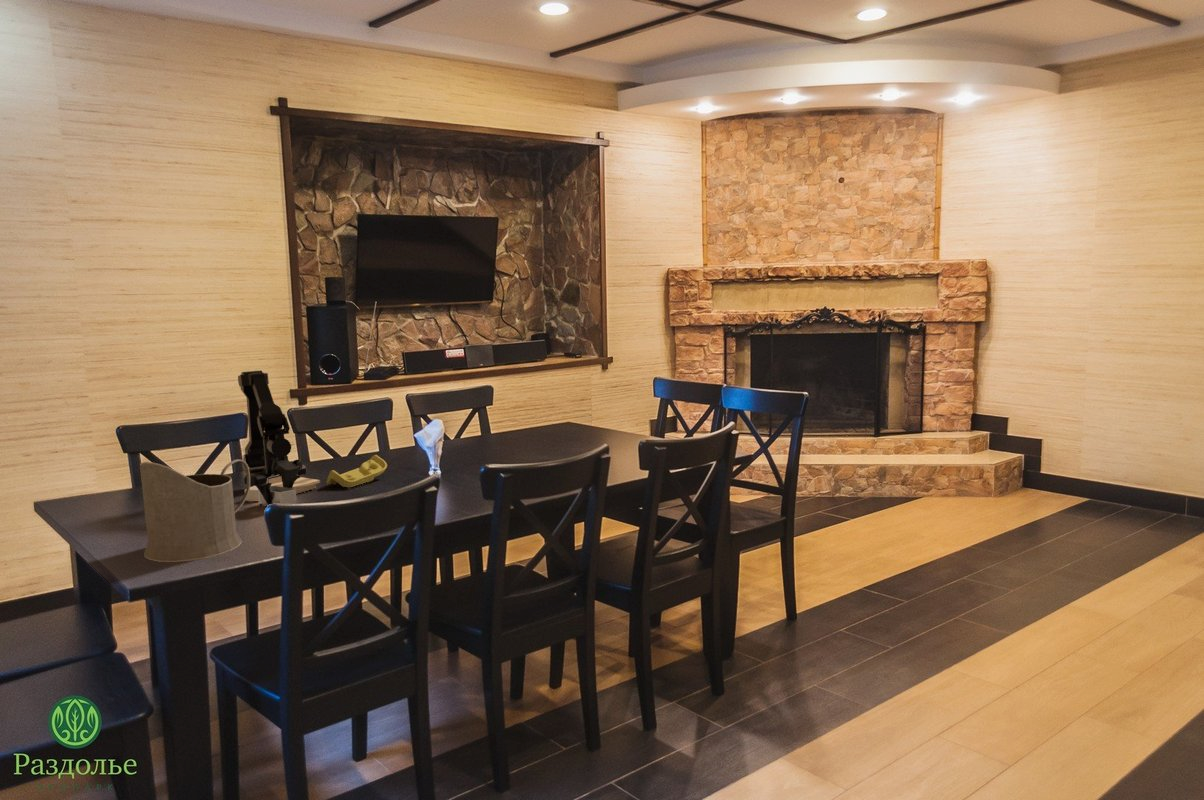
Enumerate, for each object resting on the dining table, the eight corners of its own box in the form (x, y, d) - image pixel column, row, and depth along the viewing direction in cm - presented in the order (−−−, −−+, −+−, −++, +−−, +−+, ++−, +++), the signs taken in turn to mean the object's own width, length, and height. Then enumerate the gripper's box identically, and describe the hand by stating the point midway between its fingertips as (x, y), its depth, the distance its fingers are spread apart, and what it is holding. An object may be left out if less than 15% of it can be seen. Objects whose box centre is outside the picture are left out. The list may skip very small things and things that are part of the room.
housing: (260, 505, 278) (258, 489, 277) (276, 500, 283) (275, 485, 282) (280, 509, 273) (279, 493, 272) (297, 504, 277) (295, 488, 277)
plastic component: (349, 483, 295) (328, 467, 298) (345, 501, 298) (324, 485, 302) (392, 466, 311) (372, 452, 315) (388, 484, 314) (368, 469, 318)
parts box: (245, 501, 284) (244, 489, 283) (255, 497, 288) (254, 485, 288) (259, 502, 282) (258, 490, 282) (269, 498, 287) (267, 486, 286)
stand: (264, 495, 291) (264, 486, 291) (300, 485, 302) (300, 477, 302) (284, 498, 285) (283, 489, 285) (320, 489, 297) (319, 480, 297)
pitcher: (124, 556, 231) (113, 460, 227) (223, 523, 259) (216, 437, 255) (187, 566, 221) (177, 466, 217) (284, 531, 249) (276, 442, 245)
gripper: (264, 460, 263) (268, 512, 266) (316, 448, 279) (320, 497, 281) (241, 456, 269) (245, 507, 272) (293, 445, 285) (297, 493, 287)
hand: (278, 501), depth 278 cm, fingers open, 6 cm apart
